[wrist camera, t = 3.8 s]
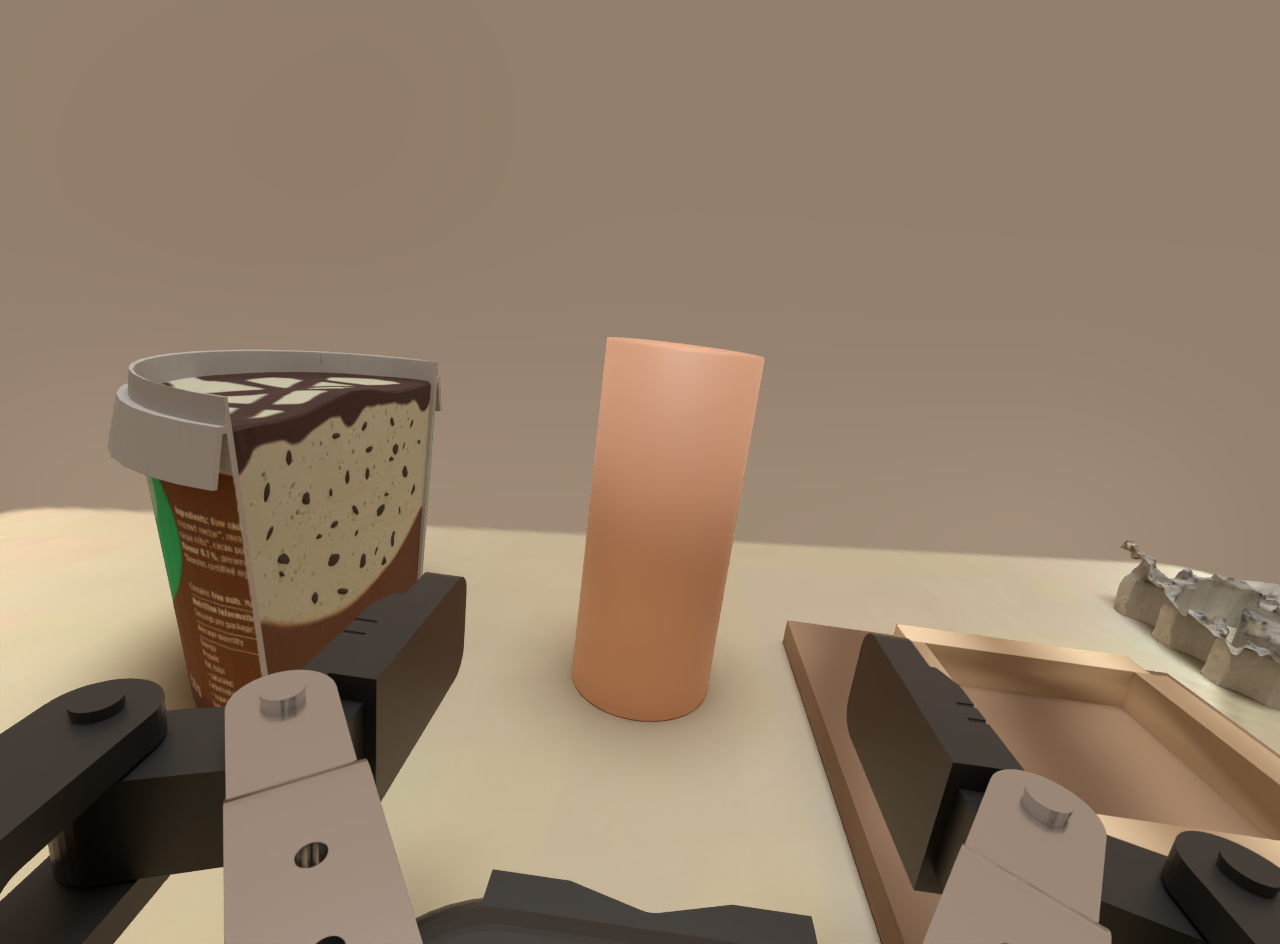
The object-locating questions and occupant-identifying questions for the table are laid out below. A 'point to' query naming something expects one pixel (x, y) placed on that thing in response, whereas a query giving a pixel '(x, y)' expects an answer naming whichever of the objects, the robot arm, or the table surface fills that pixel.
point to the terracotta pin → (661, 523)
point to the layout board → (1049, 749)
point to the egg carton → (1211, 623)
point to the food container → (278, 496)
